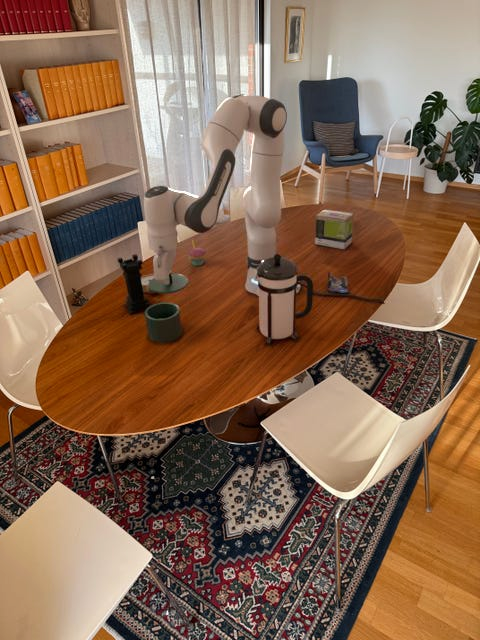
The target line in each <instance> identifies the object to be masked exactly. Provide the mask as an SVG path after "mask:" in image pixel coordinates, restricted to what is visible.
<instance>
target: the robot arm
mask: <svg viewBox="0 0 480 640" xmlns="http://www.w3.org/2000/svg"><path fill="white" fill-rule="evenodd" d="M287 120H288V112H287V109H286V107H285V104H284V103H283V102H282V101H279V100H277V99H275V98H269V97H265V96H262V95H252V94H245V93H244V94H243V93H238V94H233V95H232V96H231V97H228V98H226V99H224V100H223V101H222V102H221V104H220V105H219V106H218V108H217V109H216V111H215V112H214V113H213V114H212V116H211V117H210V120H209V121H208V123H207V125H206V126H205V128H204V130H203V133H202V135H201V138H200V147H201V151H202V153H203V155H204V156H205V157H206V159H208V160H209V162H210V163H211V172H210V174H209V177H208V180H207V182H206V185H205V188H204V190H203V192H202V194H200V195H199V196H198V195H194V194H192V193H189V192H186V191H182V190H174V189H172V188H170V187H169V186H167V185H156V186H152V187H150V188H149V189H147V190H146V191H145V193H144V196H143V213H144V219H145V222H146V224H147V229H146V232H147V233H146V234H147V240H148V247H149V249H150V250H151V251H153V252H154V256H153V259H152V260H153V261H152V262H153V263H152V265H153V274H154V275H155V280H156V281H164V284H165V285H169V284H170V278H169V274H170V272H171V274H173V265H174V262H175V259H176V256H177V252H178V251H177V247H178V245H179V241H178V235H179V233H178V230H177V226H179V225H182V226H183V227H187V228H188V229H190V230H192V231H193V232H195V233H197V234H204V233H207V232H209V231H210V230H212V228H213V227H214V226H215V225H216V223H217V221H218V217H219V212H220V208H221V204H222V202H223V200H224V196H225V194H226V191H227V189H228V186H229V183H230V181H231V178H232V176H233V173H234V170H235V166H236V155H235V154H236V151H237V148H238V146H239V145H240V143H241V140H242V138H243V136H244V134H245V132H247V133H251V134H253V137H252V143H251V149H250V150H251V151H250V161H249V173H248V175H249V184H250V186H249V187H248V188H247V189H245V191H244V192H243V196H242V204H243V205H242V206H243V213H244V215H243V216H244V222H245V229H246V230H245V231H246V238H247V241H246V242H247V254H246V269H247V274H246V279H245V284H244V288H245V290H246V291H247V292H249V293H251V294H253V295H256V296H258V297H259V287H258V281H254V279H255V276H256V273H257V268H258V267H259V265H260V263H261V262H262V261H264V260H265V259H268V258H272V257H274V255H275V254H280V255H281V253H280V252H277V232H276V228H275V227H276V226H277V225H279V223H280V221H281V219H282V209H281V208H282V207H281V173H282V165H283V155H284V147H285V146H284V145H285V131H284V128H285V126H286V124H287ZM301 287H304V288H305V289H307V284H305V283H302V282H301V281H297V286H296V295H297V294H298V293H300V291H301ZM313 295H316V296H322V297H323V296H324V297H325V296H326V297H349V298H354V299H359V300H363V301H368V302H380V303H381V305H385V302H384V300H382V299H380V298H376V297H375V298H370V297H369V298H368V297H364V296H359V295H355V294H350V293H349V294H338V293H325V292H324V293H323V292H316V291H314V290H313Z"/></svg>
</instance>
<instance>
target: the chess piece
mask: <svg viewBox="0 0 480 640" xmlns="http://www.w3.org/2000/svg"><path fill="white" fill-rule="evenodd" d="M131 257H132V258H129V259H125V260H124V259H123V258H122V257H117V259H116V260H117V262H118V264H119V267H120V269H121V270H122V271H123V272H122V276H124V280H125V285H126V290H127V296H125V298H126V299H125V303H124V306H125V307H126V309H127V311H128V312H129V314H130V315H134V314H138V313H142V312H145V311H146V309H147V308H149V307H150V306H151V305H150V303H149V301H148V298H147V297H146V296H145V294H144V293H145V292H143V287H142V282H141V277H142V276H143V274H142V273H141V270H142V269H143V267H142V265H143V260H142V259H139V256H138V254H137V253H134V254H132V256H131Z"/></svg>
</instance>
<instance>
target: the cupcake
mask: <svg viewBox="0 0 480 640" xmlns="http://www.w3.org/2000/svg"><path fill="white" fill-rule="evenodd" d="M191 244H192V247H193V248H191V249H189V251H188V252H187V257H188V259H189V260H190V261H191V263H192V265H193V266H196V267H198V266H199V267H200V266H202V265H203V264H204V261H205V259H206V258H207V256H208V253H207V250H206V249H204V248H201V247H196V245H195V242H194V239H191Z"/></svg>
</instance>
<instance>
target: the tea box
mask: <svg viewBox="0 0 480 640" xmlns="http://www.w3.org/2000/svg"><path fill="white" fill-rule="evenodd" d="M354 216H355V213H353V212H345V211H339V210H331V209H323V210H322V211H320V212H318V213H317V214H316V215H315V236H314V238H315V239H314V245H318V246H323V247H324V246H325V247H328V248H334V249H339V250H345V249H347V248H348V247H349V246H350V245H351V244H352V242H353V241H352V240H353V229H354Z"/></svg>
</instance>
